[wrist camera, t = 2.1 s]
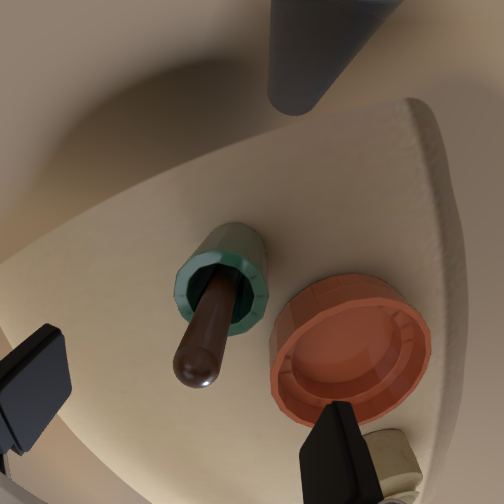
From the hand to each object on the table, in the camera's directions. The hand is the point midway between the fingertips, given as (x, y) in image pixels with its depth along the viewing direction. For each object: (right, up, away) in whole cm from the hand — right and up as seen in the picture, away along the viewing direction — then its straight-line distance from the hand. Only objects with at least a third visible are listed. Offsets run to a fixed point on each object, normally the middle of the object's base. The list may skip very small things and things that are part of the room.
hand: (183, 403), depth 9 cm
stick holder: (+1, +5, +17) cm, 17 cm away
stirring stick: (+1, +5, +16) cm, 17 cm away
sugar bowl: (+18, -25, +24) cm, 39 cm away
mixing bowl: (+11, -4, +19) cm, 22 cm away
